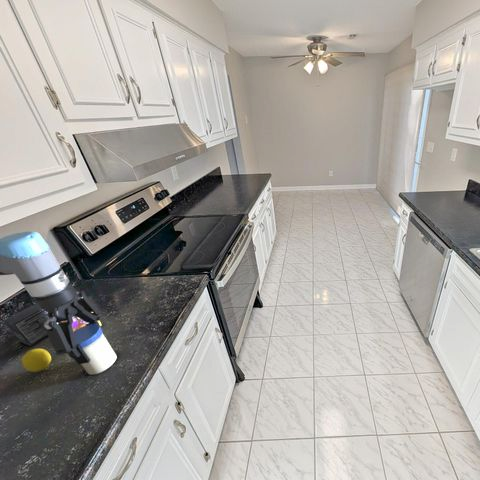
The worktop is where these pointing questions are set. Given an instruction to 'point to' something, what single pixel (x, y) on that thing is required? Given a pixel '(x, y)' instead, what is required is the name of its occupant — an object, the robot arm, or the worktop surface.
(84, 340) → the lid
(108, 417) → the worktop surface
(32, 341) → the small box
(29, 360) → the lemon
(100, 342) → the jar
